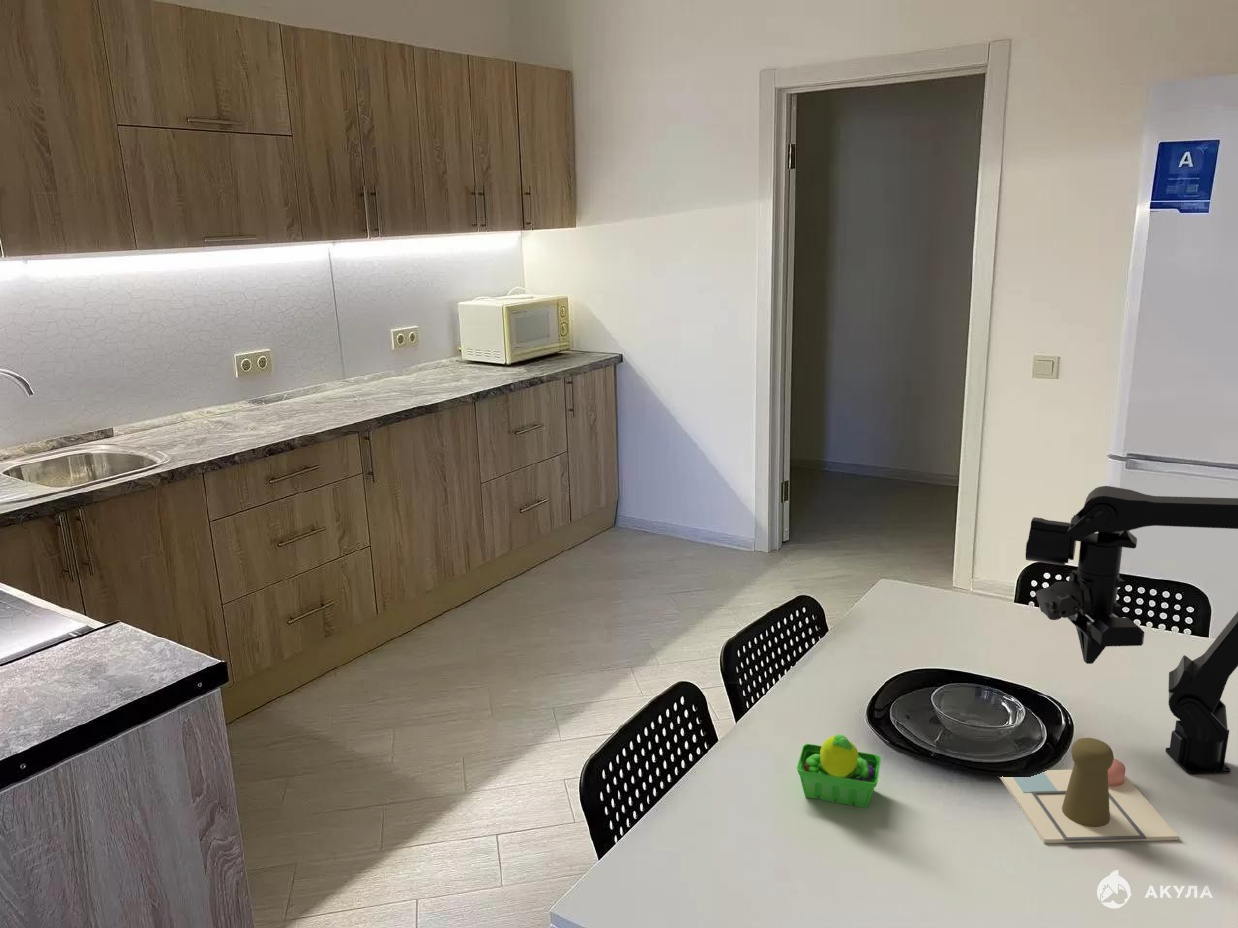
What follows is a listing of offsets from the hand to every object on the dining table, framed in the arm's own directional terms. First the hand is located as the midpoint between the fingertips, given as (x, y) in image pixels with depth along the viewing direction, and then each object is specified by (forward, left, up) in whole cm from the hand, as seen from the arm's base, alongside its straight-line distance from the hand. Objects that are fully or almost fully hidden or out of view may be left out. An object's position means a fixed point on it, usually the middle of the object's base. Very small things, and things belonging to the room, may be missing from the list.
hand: (1088, 662), depth 149 cm
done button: (+2, +12, -12) cm, 17 cm away
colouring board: (+8, +18, -13) cm, 24 cm away
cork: (+9, +21, -13) cm, 26 cm away
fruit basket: (+42, +14, -13) cm, 46 cm away
